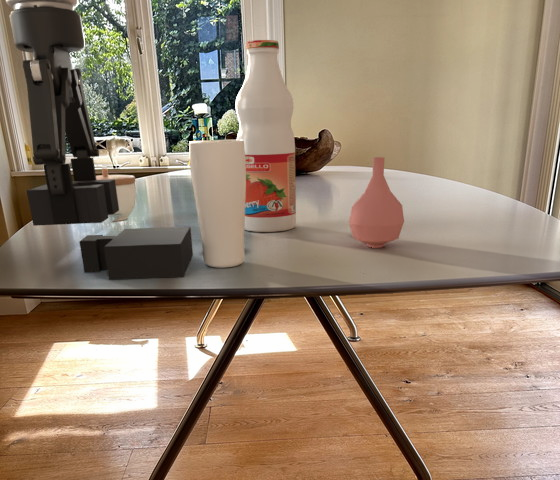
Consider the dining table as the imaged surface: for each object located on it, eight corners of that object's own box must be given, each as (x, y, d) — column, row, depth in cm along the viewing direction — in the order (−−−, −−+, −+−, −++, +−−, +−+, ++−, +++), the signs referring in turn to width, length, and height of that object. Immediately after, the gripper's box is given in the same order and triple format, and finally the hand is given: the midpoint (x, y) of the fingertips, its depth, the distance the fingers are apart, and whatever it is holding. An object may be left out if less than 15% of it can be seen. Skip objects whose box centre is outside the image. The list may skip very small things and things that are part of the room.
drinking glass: (190, 262, 79) (180, 141, 73) (236, 255, 82) (230, 139, 76) (210, 272, 74) (201, 143, 68) (259, 265, 77) (254, 140, 71)
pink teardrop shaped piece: (388, 239, 90) (392, 154, 85) (412, 249, 83) (417, 157, 78) (340, 243, 88) (341, 157, 83) (360, 253, 81) (363, 160, 77)
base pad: (75, 280, 72) (69, 247, 70) (99, 258, 83) (95, 229, 81) (183, 277, 72) (180, 243, 71) (193, 255, 83) (190, 226, 82)
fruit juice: (307, 226, 102) (306, 40, 91) (269, 235, 96) (263, 36, 84) (267, 221, 108) (262, 46, 97) (229, 229, 102) (218, 42, 90)
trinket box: (111, 214, 121) (104, 165, 118) (151, 217, 116) (145, 166, 113) (70, 222, 113) (61, 170, 109) (111, 226, 108) (104, 171, 104)
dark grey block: (33, 225, 70) (26, 190, 68) (58, 213, 79) (53, 181, 78) (101, 222, 70) (96, 187, 68) (119, 210, 79) (114, 179, 78)
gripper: (45, -12, 55) (85, 230, 64) (102, 23, 76) (127, 202, 85) (-36, -9, 55) (15, 233, 64) (43, 25, 76) (74, 205, 85)
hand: (79, 216), depth 75 cm, fingers closed on dark grey block, 10 cm apart
